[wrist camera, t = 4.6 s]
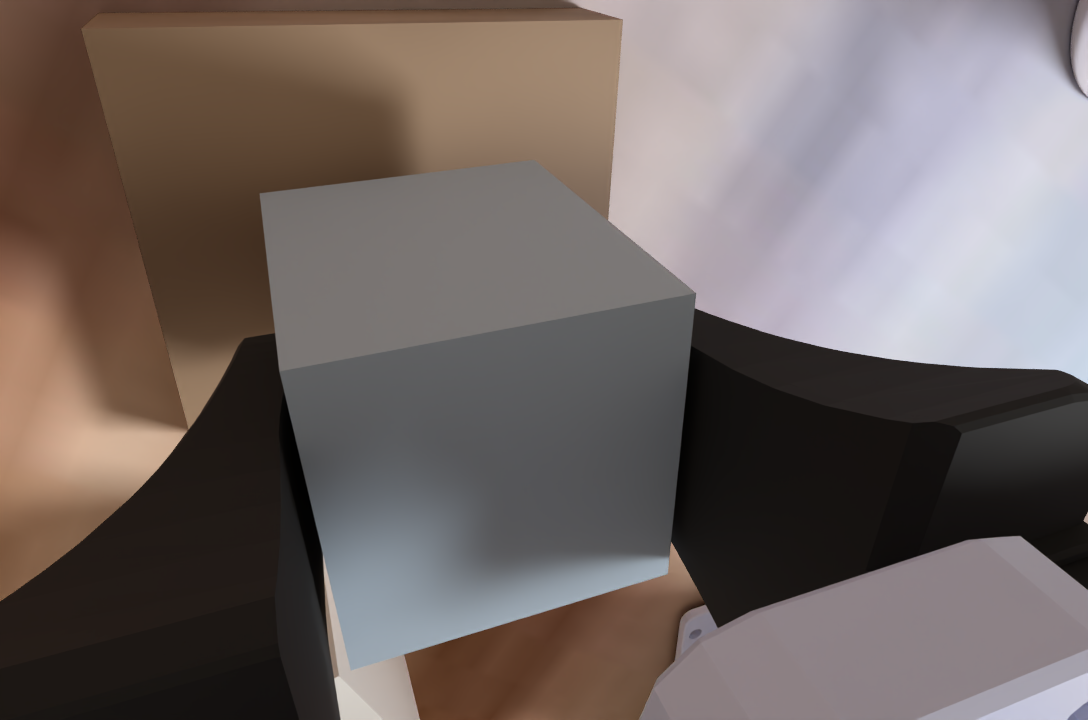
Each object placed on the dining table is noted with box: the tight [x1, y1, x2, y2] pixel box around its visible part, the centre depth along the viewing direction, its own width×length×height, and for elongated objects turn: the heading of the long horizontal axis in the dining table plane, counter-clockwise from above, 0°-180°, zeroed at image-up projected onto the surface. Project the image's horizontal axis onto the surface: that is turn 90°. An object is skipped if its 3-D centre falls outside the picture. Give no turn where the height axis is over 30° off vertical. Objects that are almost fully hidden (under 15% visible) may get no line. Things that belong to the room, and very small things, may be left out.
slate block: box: [260, 160, 696, 670], centre depth 11 cm, size 4×4×6 cm
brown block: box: [81, 8, 623, 429], centre depth 16 cm, size 9×9×2 cm
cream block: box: [323, 556, 420, 720], centre depth 18 cm, size 4×4×6 cm
